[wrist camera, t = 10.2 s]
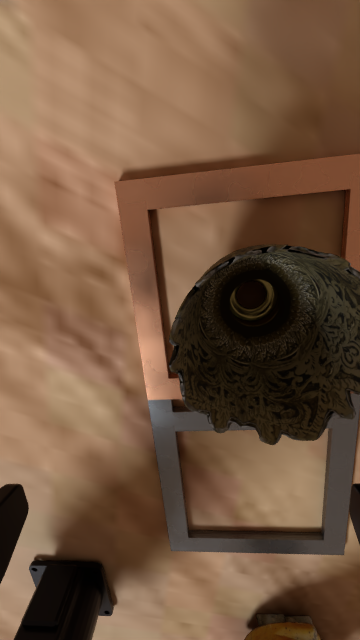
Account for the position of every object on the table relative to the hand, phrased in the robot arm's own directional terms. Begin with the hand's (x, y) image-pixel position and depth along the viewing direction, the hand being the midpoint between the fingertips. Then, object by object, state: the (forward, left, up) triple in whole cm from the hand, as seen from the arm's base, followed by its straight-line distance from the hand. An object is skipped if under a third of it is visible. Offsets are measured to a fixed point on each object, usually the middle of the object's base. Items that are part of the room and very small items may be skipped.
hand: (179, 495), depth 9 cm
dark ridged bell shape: (+2, -3, -12) cm, 12 cm away
